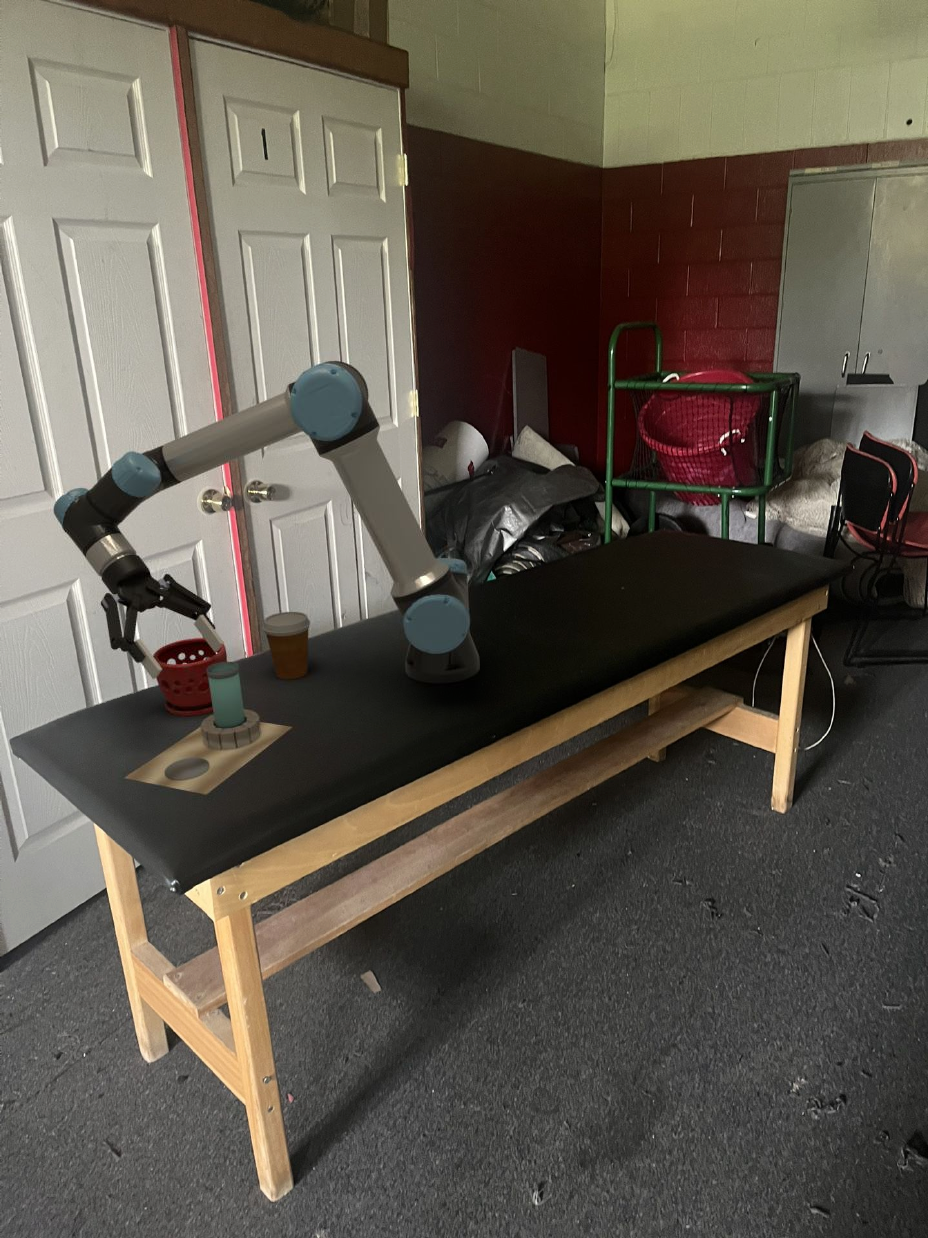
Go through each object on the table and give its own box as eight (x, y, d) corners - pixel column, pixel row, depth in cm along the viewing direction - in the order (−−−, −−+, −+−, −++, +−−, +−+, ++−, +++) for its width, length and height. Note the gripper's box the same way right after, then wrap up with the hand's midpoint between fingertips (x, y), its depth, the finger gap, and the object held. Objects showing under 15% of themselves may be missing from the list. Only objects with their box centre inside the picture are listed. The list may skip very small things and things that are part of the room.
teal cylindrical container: (253, 732, 154) (244, 663, 150) (235, 745, 150) (225, 675, 145) (229, 728, 156) (219, 660, 152) (210, 741, 152) (200, 671, 147)
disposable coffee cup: (259, 680, 179) (252, 624, 175) (284, 662, 187) (277, 609, 183) (300, 685, 176) (294, 628, 172) (323, 667, 184) (318, 612, 180)
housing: (292, 732, 156) (290, 711, 155) (207, 800, 135) (203, 777, 134) (218, 720, 162) (215, 700, 160) (125, 783, 141) (120, 761, 140)
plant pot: (152, 707, 169) (142, 648, 165) (218, 688, 176) (210, 632, 172) (175, 730, 158) (164, 669, 154) (244, 710, 166) (236, 650, 162)
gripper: (168, 561, 167) (234, 648, 164) (48, 598, 147) (121, 698, 144) (183, 536, 162) (251, 626, 160) (61, 571, 143) (137, 674, 140)
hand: (189, 660), depth 152 cm, fingers open, 13 cm apart
